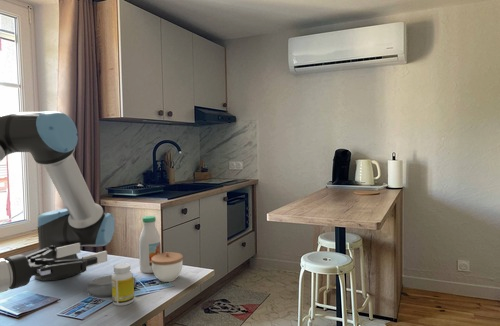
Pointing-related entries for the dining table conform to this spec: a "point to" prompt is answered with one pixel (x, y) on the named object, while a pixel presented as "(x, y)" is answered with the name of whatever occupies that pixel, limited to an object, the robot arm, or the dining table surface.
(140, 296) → the dining table surface
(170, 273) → the lidded jar
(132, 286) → the pill bottle
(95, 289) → the slate plate
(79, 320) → the dining table surface
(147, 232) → the milk bottle
